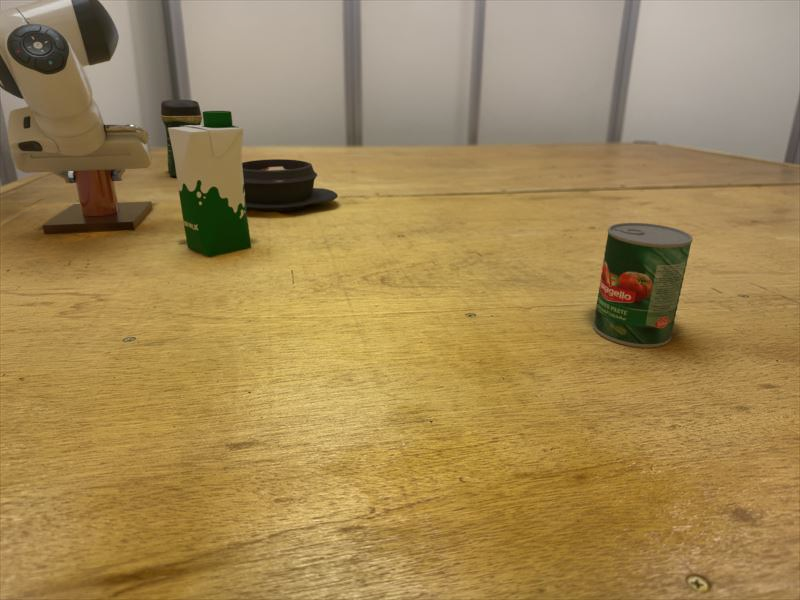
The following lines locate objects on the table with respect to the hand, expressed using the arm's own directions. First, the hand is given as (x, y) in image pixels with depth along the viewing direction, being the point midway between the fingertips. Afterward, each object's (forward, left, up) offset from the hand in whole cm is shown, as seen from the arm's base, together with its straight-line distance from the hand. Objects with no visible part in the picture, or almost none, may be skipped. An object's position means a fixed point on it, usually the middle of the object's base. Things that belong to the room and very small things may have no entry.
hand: (95, 179), depth 98 cm
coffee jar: (+9, +45, -8) cm, 47 cm away
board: (0, -1, -7) cm, 7 cm away
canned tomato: (+68, -61, -8) cm, 92 cm away
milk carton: (+22, -22, -8) cm, 32 cm away
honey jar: (0, -1, -6) cm, 6 cm away
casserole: (+31, +5, -8) cm, 33 cm away
